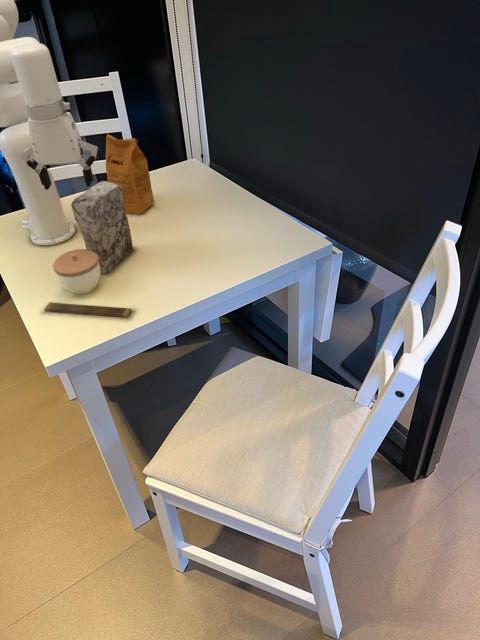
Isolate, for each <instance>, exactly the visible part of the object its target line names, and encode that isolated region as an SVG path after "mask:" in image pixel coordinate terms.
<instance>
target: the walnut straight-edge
mask: <svg viewBox="0 0 480 640" xmlns="http://www.w3.org/2000/svg"><path fill="white" fill-rule="evenodd" d="M44 312H50V313H63V314H76V315H88V316H100V317H113V318H125V319H128V318H129V317H130V315H131V313H132V312H133V310H132V308H128V307H117V306H116V307H115V306H113V307H112V306H102V305H88V304H75V303H62V302H49V303H48V304H47V305H46V306H45V307H44Z"/></svg>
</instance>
